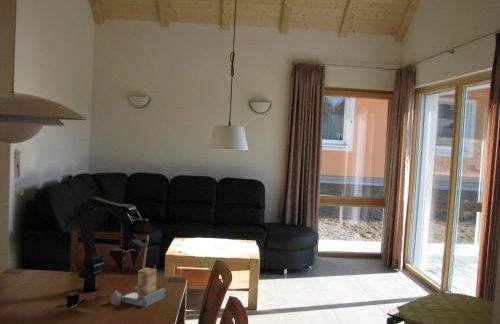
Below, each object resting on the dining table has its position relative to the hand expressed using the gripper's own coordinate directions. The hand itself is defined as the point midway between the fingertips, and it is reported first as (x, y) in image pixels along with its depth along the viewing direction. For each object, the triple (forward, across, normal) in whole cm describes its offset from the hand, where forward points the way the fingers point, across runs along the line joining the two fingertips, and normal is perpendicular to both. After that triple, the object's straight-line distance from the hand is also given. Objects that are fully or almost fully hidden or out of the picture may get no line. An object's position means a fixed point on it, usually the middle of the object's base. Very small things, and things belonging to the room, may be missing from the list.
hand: (128, 268), depth 201 cm
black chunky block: (+13, -17, +16) cm, 26 cm away
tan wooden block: (+12, -2, -11) cm, 16 cm away
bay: (+13, -4, -7) cm, 16 cm away
